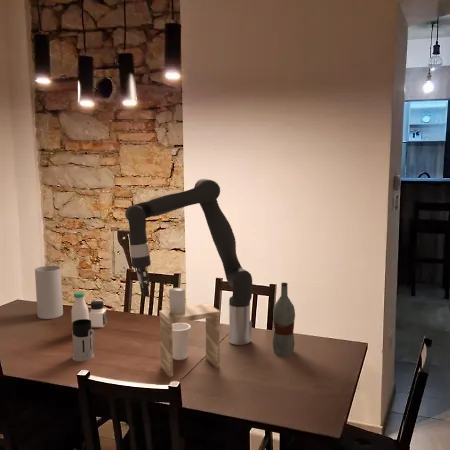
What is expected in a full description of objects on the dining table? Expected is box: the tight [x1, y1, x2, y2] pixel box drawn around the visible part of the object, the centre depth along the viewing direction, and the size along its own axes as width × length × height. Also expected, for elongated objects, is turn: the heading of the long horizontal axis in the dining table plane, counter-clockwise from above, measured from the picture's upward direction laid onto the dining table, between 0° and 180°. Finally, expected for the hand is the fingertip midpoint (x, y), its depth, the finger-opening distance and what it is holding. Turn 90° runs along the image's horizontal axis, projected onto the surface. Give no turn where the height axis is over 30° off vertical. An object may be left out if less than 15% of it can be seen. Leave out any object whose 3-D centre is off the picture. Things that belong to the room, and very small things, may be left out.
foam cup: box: [172, 322, 192, 361], centre depth 210 cm, size 10×9×13 cm
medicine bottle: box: [88, 299, 108, 328], centre depth 249 cm, size 7×7×12 cm
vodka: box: [272, 282, 296, 357], centre depth 213 cm, size 9×9×30 cm
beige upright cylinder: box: [168, 287, 186, 315], centre depth 195 cm, size 6×6×9 cm
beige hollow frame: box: [158, 303, 221, 378], centre depth 199 cm, size 21×11×23 cm, turn 116°
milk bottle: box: [70, 291, 89, 333], centre depth 235 cm, size 8×8×20 cm
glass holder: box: [71, 319, 96, 362], centre depth 208 cm, size 9×14×15 cm, turn 44°
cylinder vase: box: [34, 265, 64, 320], centre depth 262 cm, size 12×12×25 cm
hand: (145, 294), depth 206 cm, fingers open, 8 cm apart
